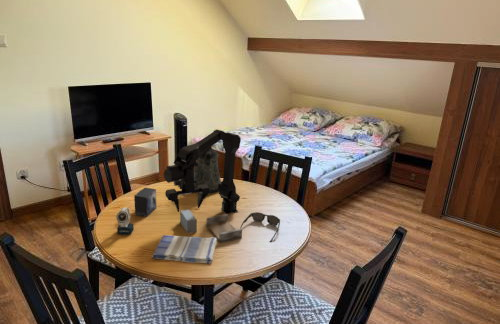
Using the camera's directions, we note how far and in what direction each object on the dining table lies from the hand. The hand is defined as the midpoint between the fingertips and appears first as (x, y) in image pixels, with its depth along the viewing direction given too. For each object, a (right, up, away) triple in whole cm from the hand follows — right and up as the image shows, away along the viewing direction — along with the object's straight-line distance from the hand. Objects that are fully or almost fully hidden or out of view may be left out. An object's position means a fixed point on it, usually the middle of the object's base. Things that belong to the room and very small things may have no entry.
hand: (188, 209), depth 153 cm
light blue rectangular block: (-1, -8, +3) cm, 9 cm away
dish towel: (+2, -15, -14) cm, 21 cm away
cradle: (+16, -10, 0) cm, 18 cm away
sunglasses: (+32, -10, +3) cm, 34 cm away
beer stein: (+3, +5, +44) cm, 45 cm away
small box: (-23, -3, +15) cm, 27 cm away
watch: (-26, -9, -4) cm, 28 cm away
